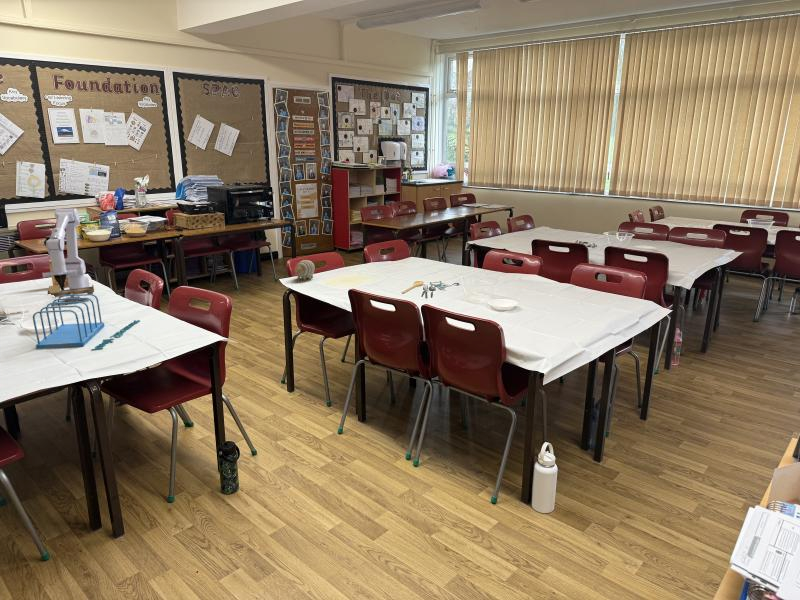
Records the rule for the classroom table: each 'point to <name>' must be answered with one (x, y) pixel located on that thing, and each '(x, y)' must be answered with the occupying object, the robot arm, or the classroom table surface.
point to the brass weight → (54, 289)
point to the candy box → (54, 278)
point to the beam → (75, 291)
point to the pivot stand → (74, 299)
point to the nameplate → (115, 336)
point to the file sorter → (68, 326)
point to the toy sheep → (305, 269)
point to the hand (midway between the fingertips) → (62, 289)
